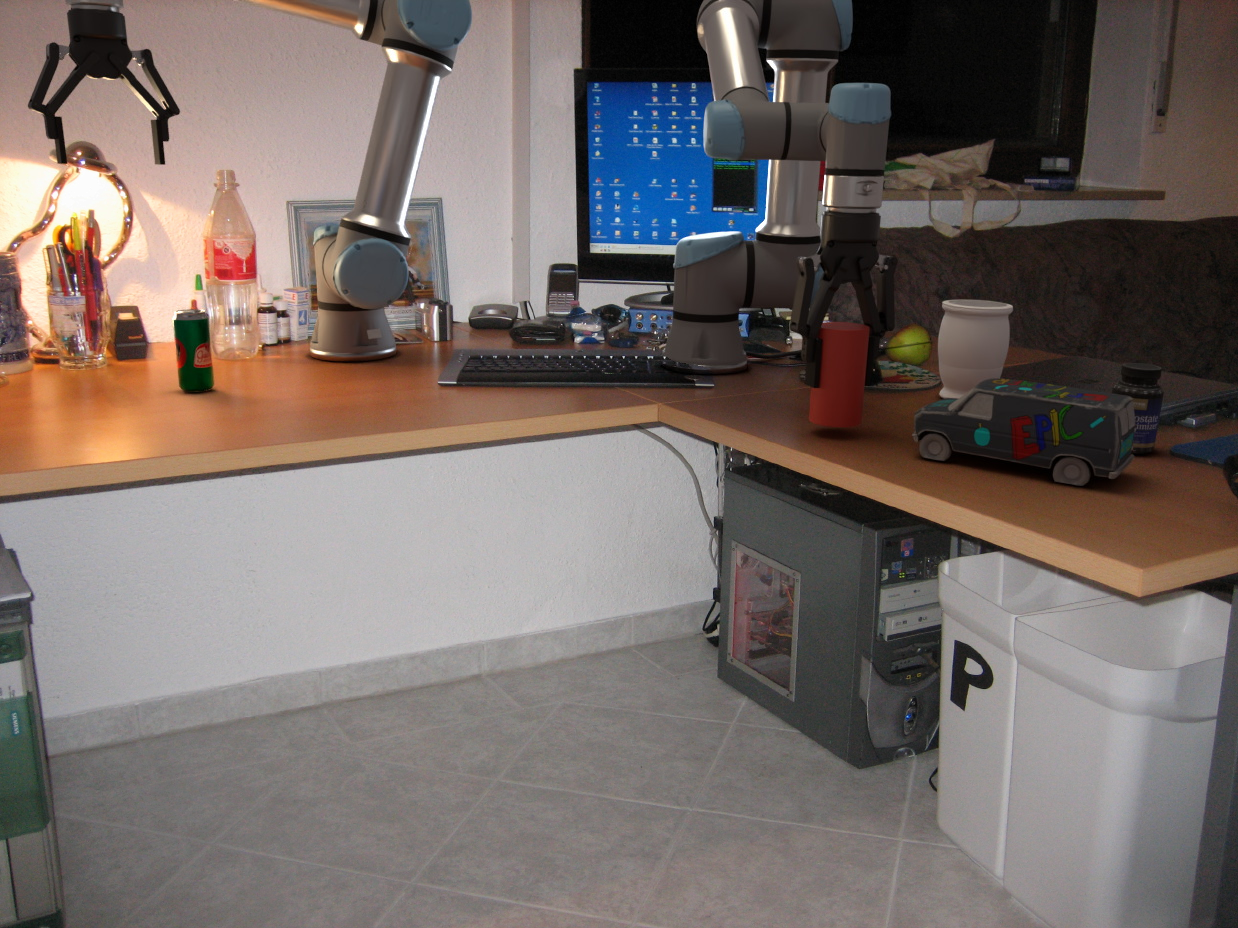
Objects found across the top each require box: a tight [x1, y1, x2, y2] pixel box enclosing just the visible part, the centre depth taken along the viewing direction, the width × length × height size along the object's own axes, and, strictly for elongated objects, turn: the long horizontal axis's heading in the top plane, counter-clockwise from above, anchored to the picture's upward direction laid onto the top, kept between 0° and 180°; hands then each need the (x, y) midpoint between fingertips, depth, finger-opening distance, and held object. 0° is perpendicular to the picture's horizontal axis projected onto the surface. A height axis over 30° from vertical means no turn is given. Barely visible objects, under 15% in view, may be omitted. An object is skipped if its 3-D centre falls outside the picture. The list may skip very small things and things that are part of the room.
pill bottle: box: [1111, 362, 1165, 455], centre depth 139 cm, size 6×6×11 cm
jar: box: [937, 298, 1014, 399], centre depth 166 cm, size 11×10×15 cm
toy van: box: [911, 377, 1136, 487], centre depth 131 cm, size 11×25×10 cm, turn 54°
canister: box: [808, 321, 870, 428], centre depth 144 cm, size 7×7×13 cm
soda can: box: [172, 308, 215, 393], centre depth 162 cm, size 5×5×12 cm
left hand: (112, 164), depth 159 cm, fingers open, 13 cm apart
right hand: (837, 384), depth 144 cm, fingers closed on canister, 7 cm apart
